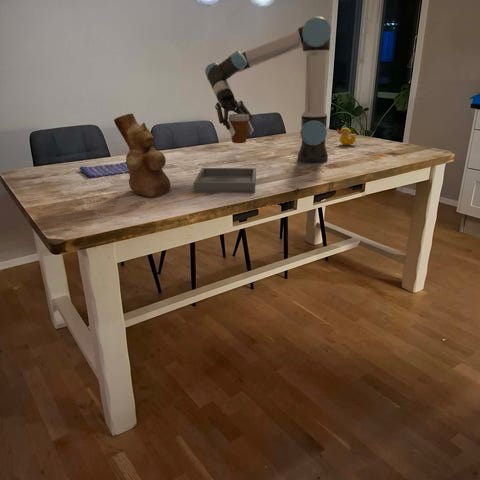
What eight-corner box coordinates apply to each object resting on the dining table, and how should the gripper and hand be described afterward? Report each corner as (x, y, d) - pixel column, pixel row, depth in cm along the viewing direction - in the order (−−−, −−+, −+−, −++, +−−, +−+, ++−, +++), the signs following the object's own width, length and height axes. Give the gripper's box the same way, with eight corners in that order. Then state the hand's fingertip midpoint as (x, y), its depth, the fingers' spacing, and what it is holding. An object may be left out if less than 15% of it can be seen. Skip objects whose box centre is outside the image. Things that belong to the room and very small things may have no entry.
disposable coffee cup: (225, 143, 205) (224, 115, 200) (233, 139, 213) (233, 113, 208) (245, 144, 202) (244, 116, 197) (252, 140, 210) (252, 114, 205)
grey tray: (256, 177, 202) (256, 168, 200) (254, 192, 180) (254, 183, 178) (202, 176, 203) (201, 167, 202) (194, 192, 181) (193, 182, 179)
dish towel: (78, 171, 215) (78, 165, 214) (127, 165, 226) (127, 159, 225) (88, 180, 202) (87, 173, 200) (139, 172, 213) (139, 166, 212)
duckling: (334, 144, 268) (335, 127, 264) (337, 143, 272) (338, 126, 268) (353, 146, 263) (355, 128, 259) (356, 144, 267) (357, 127, 263)
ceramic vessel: (152, 200, 171) (145, 118, 160) (111, 192, 182) (101, 114, 171) (178, 190, 184) (174, 113, 172) (138, 182, 195) (131, 110, 183)
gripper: (240, 97, 218) (259, 136, 211) (200, 100, 207) (218, 141, 201) (246, 86, 212) (266, 125, 205) (205, 89, 201) (224, 130, 195)
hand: (242, 133), depth 203 cm, fingers closed on disposable coffee cup, 9 cm apart
